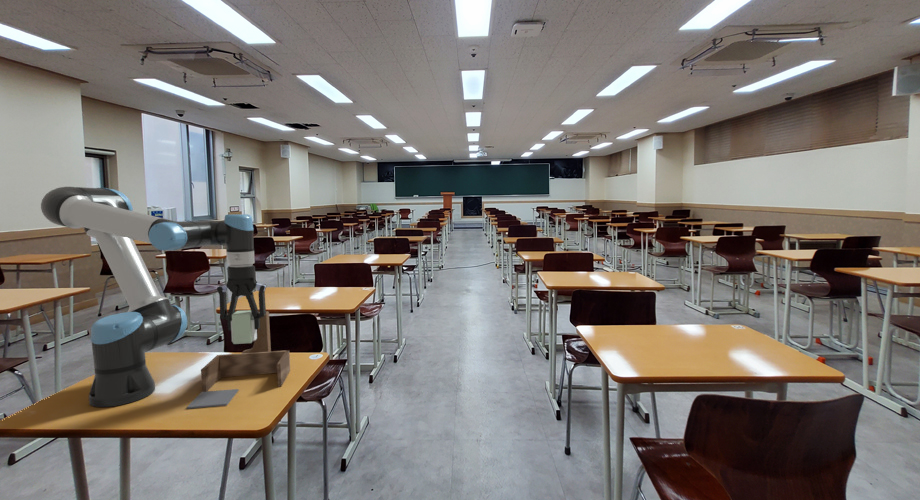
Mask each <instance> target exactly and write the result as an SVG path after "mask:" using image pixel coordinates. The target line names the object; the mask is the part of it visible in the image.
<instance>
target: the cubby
mask: <svg viewBox="0 0 920 500" xmlns="http://www.w3.org/2000/svg"><path fill="white" fill-rule="evenodd" d="M290 372H291V360H290V350H273V351H272V350H271V352H256V353H242V352H241V353H229V354H227V353H226V354H216V355H215V357H213V358H212V359H211V360H210V361H209V362H207V364H206V365H204V367H203V368H201V369H200V375H201V376H200V377H201V389H202V391H201V392H206V391H209V390H210V389H211V388H212V387H213V386H214V385H215V384H216V383H217V382H218V381H219V380H220V379H221V378H224V377H225V378H226V377H238V376H250V375H252V376H253V375H254V376H255V375H263V374H265V375H266V374H267V375H268V374H276V375H277V387H280V388H281V387H282V386H283V385H284V383H285V381H286V379H287V377H288V376H289V374H290Z"/></svg>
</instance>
